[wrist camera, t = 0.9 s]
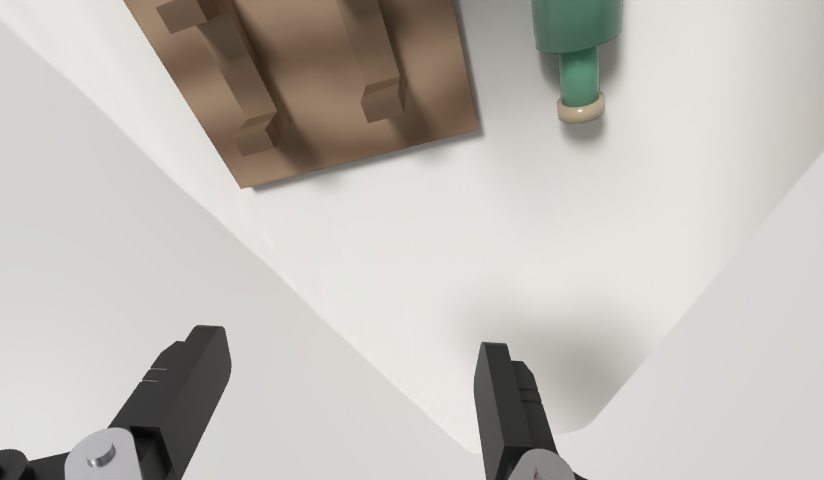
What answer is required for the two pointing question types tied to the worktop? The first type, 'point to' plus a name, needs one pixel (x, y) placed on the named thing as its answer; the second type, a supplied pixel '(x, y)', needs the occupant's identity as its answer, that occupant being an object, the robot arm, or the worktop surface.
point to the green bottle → (577, 49)
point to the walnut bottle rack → (312, 77)
